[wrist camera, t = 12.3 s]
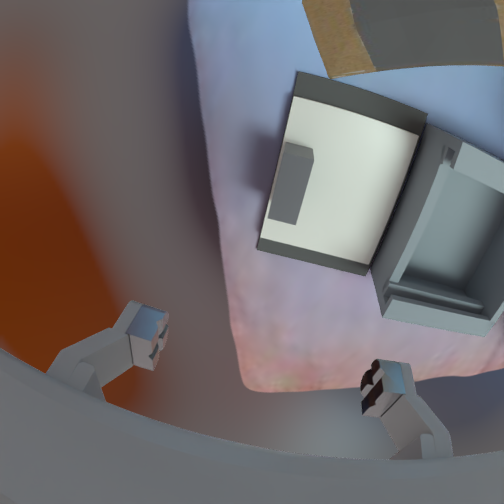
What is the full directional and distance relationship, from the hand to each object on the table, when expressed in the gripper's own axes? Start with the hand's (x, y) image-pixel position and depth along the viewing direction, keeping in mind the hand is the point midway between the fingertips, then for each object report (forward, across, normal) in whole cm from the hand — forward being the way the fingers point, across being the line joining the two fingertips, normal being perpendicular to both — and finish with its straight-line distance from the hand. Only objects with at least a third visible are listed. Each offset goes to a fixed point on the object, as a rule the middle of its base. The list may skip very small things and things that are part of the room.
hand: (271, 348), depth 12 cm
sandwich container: (+22, -6, -16) cm, 28 cm away
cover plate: (+22, -4, 0) cm, 22 cm away
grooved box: (+22, -18, 0) cm, 29 cm away
